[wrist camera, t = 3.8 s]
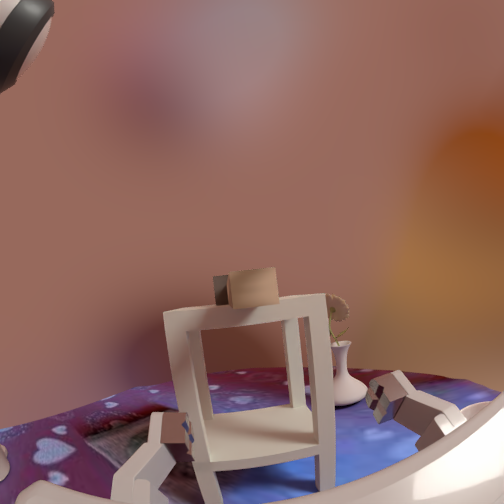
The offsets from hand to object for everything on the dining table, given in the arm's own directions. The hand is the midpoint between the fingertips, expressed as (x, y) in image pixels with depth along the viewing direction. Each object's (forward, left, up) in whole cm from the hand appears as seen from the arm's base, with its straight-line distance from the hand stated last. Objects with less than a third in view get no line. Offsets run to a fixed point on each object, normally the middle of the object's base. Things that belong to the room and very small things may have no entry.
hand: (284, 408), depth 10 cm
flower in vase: (+21, +44, -22) cm, 54 cm away
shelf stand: (0, +22, -22) cm, 31 cm away
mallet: (0, +16, +4) cm, 16 cm away
